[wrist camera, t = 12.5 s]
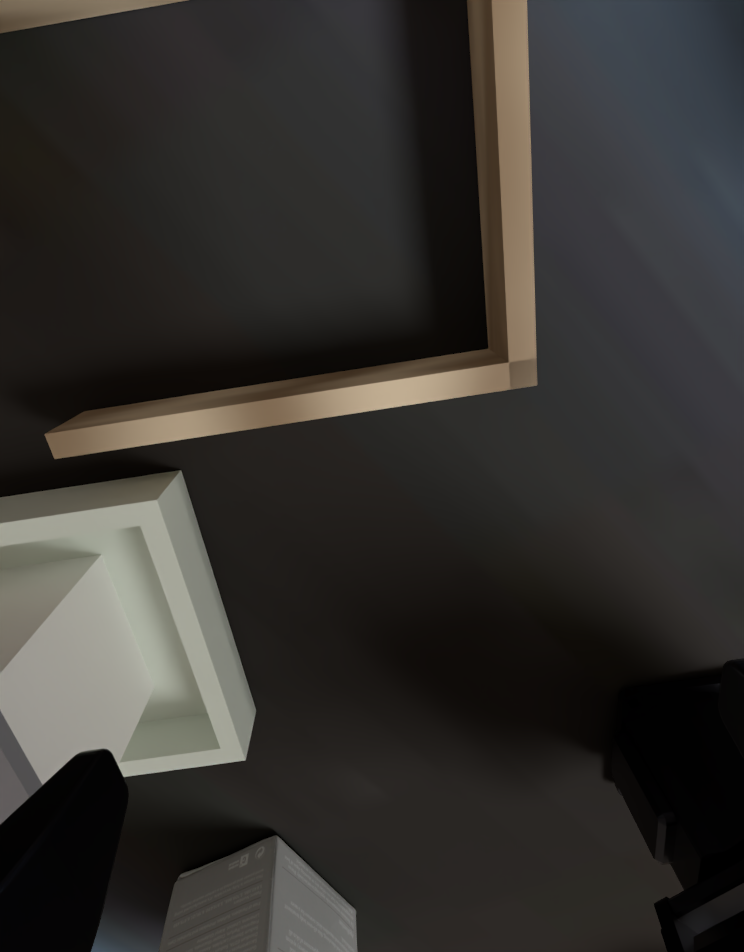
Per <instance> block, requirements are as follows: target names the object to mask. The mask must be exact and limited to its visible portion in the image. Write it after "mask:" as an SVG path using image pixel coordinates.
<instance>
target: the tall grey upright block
mask: <svg viewBox="0 0 744 952" xmlns="http://www.w3.org/2000/svg"><path fill="white" fill-rule="evenodd" d="M154 687H155V686H154V684H153V681H152V679H151V676H150V674H149V671H148V669H147V666H146V664H145V661H144V659H143V656H142V654H141V651H140V649H139V647H138V644H137V642H136V639H135V637H134V634H133V632H132V629H131V627H130V624H129V622H128V619H127V617H126V614H125V612H124V610H123V607H122V605H121V602H120V600H119V597H118V595H117V592H116V590H115V587H114V585H113V582H112V580H111V577H110V575H109V572H108V570H107V568H106V565H105V563H104V560H103V558H102V555H95V556H88V557H81V558H75V559H68V560H61V561H54V562H48V563H41V564H34V565H28V566H21V567H14V568H7V569H1V570H0V824H1V823H2V822H3V821H4V820H5V819H7V818H8V817H9V816H10V815H11V814H12V813H13V812H14V811H15V810H16V809H17V808H18V807H19V806H21V805H22V804H23V803H24V802H25V801H26V800H27V799H28V798H29V797H30V796H31V795H32V794H34V793H35V792H36V791H37V790H38V789H39V788H40V787H41V786H42V785H43V784H44V783H45V782H46V781H48V780H49V779H50V778H51V777H52V776H53V775H54V774H55V773H56V772H57V771H58V770H59V769H61V768H62V767H63V766H64V765H65V764H66V763H67V762H68V761H69V760H70V759H71V758H72V757H74V756H75V755H76V754H78V753H80V752H82V751H88V750H95V749H102V748H104V749H108V750H109V751H111V752H112V754H113V756H114V758H115V760H116V762H117V764H118V765H119V763H120V760H121V758H122V756H123V754H124V752H125V750H126V747H127V745H128V743H129V741H130V739H131V737H132V734H133V732H134V730H135V728H136V726H137V724H138V722H139V719H140V717H141V715H142V713H143V711H144V709H145V706H146V704H147V702H148V700H149V698H150V696H151V693H152V691H153V689H154Z"/></svg>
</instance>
